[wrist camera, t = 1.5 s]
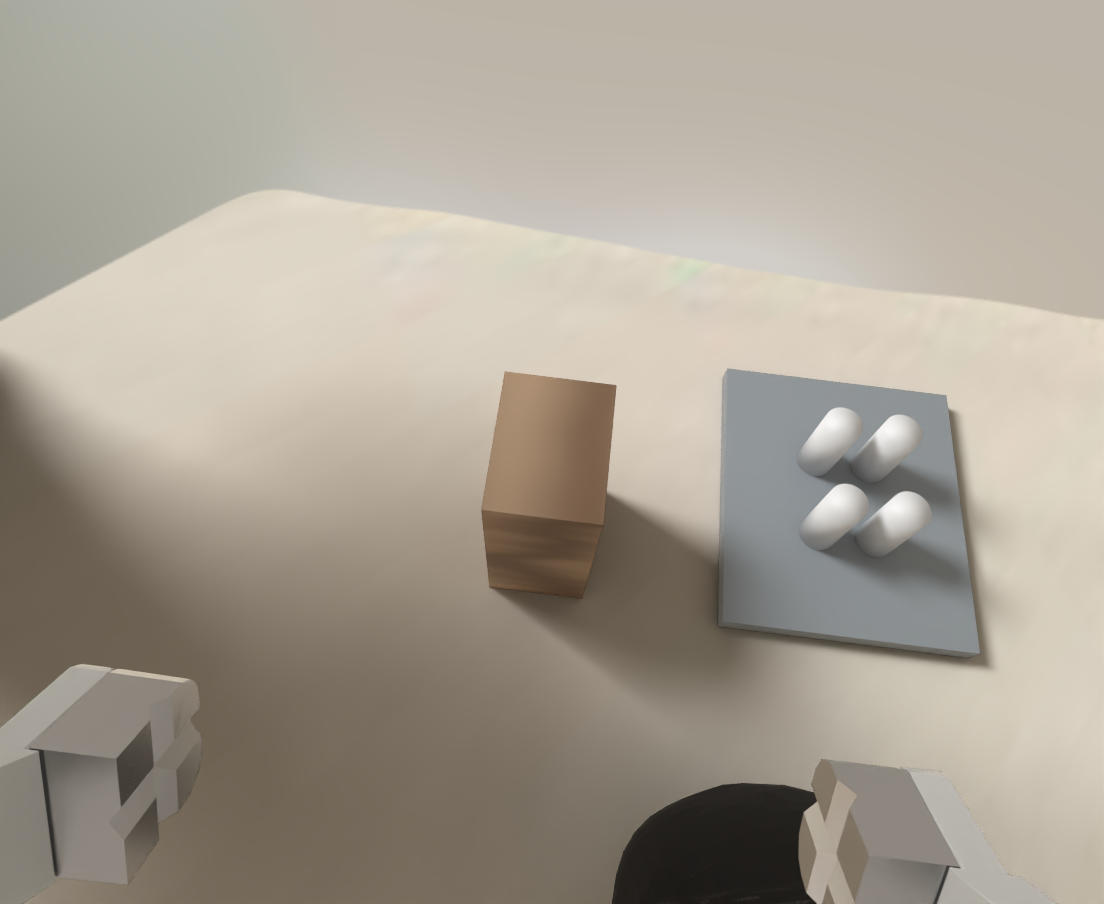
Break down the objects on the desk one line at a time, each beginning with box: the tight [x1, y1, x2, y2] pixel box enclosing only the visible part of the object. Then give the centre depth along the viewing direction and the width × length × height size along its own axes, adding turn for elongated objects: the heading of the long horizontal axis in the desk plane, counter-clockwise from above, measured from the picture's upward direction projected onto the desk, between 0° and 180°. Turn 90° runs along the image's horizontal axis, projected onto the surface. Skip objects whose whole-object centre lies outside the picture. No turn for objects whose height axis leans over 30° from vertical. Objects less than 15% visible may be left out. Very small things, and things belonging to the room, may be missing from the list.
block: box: [481, 372, 616, 599], centre depth 34 cm, size 4×6×10 cm
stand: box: [718, 369, 980, 658], centre depth 37 cm, size 12×14×5 cm
